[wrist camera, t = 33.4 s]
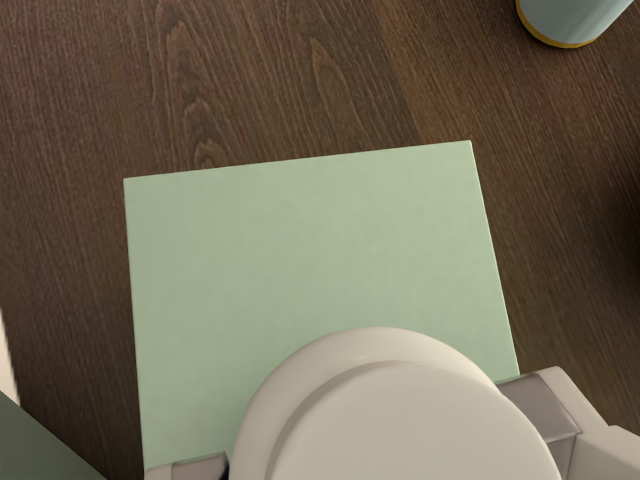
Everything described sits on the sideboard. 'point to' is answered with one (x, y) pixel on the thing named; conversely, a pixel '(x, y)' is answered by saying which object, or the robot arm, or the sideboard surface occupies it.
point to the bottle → (569, 19)
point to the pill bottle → (384, 416)
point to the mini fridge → (299, 276)
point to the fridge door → (35, 450)
